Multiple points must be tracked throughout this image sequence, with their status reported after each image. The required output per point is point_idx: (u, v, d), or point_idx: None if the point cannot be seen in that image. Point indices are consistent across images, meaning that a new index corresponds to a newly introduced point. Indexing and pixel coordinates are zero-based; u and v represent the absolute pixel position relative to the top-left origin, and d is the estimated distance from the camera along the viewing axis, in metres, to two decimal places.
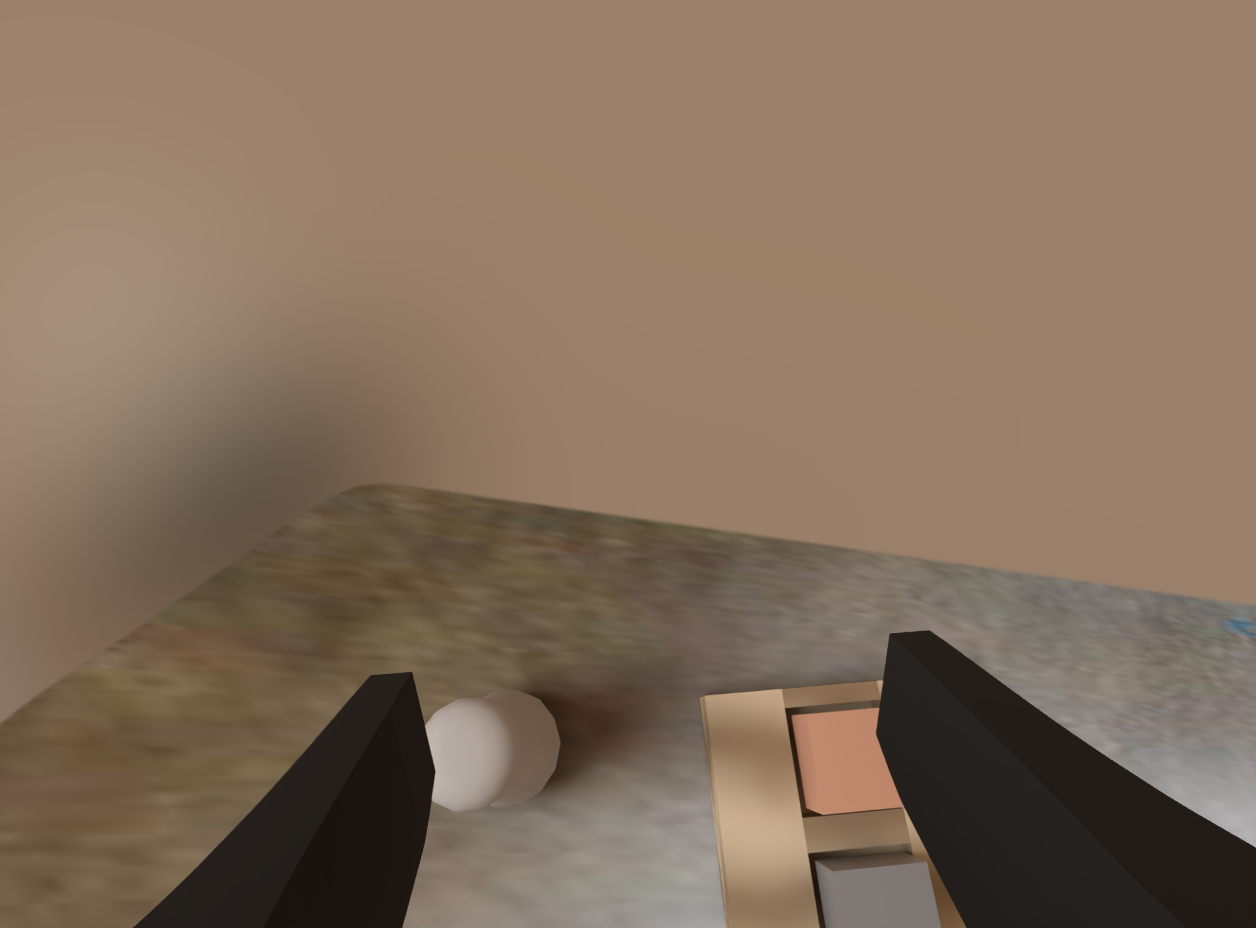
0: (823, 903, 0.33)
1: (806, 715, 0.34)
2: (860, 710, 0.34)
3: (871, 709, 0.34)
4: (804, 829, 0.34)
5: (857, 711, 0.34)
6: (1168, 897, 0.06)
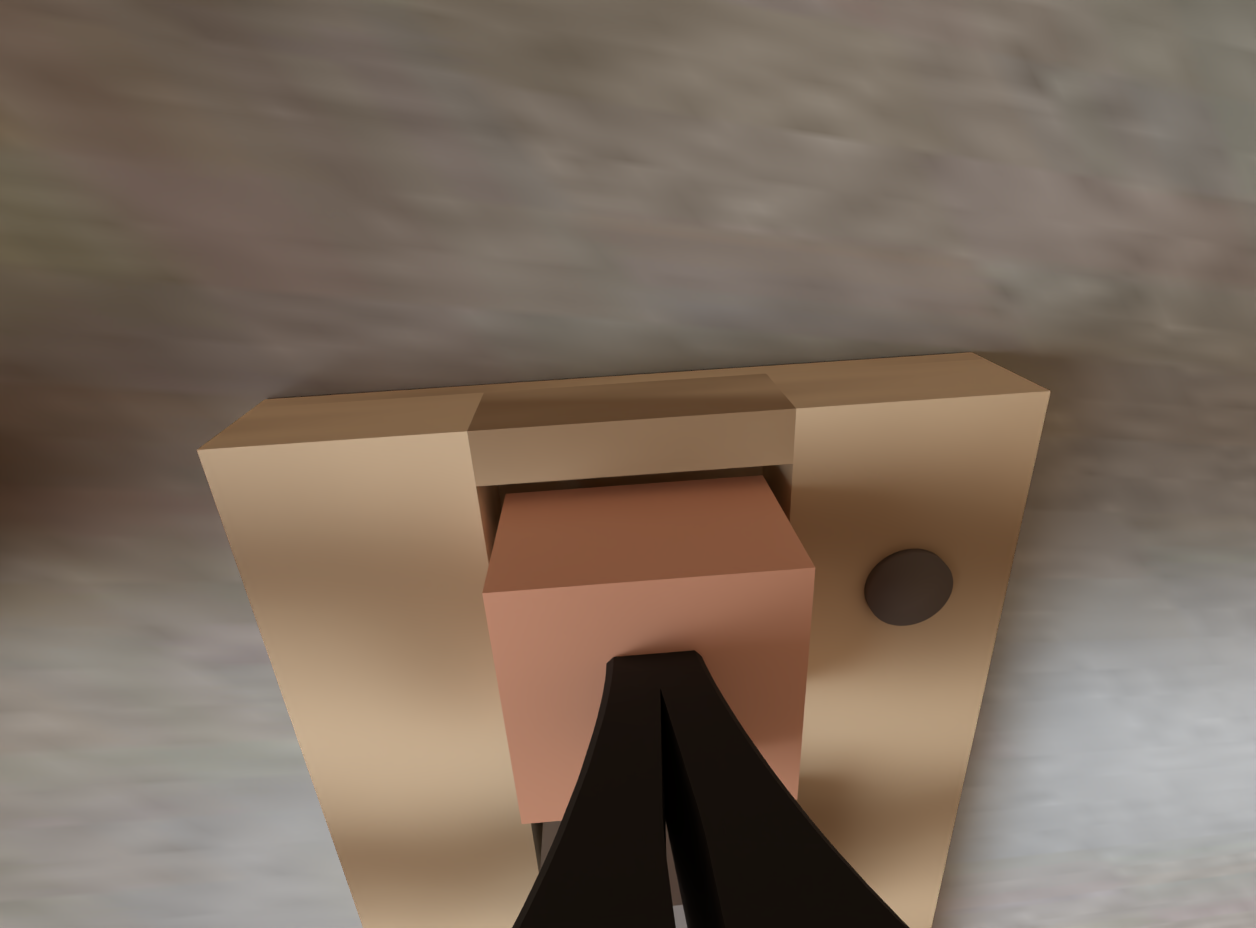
0: None
1: (485, 595, 0.09)
2: (689, 581, 0.09)
3: (731, 576, 0.09)
4: None
5: (677, 584, 0.09)
6: None
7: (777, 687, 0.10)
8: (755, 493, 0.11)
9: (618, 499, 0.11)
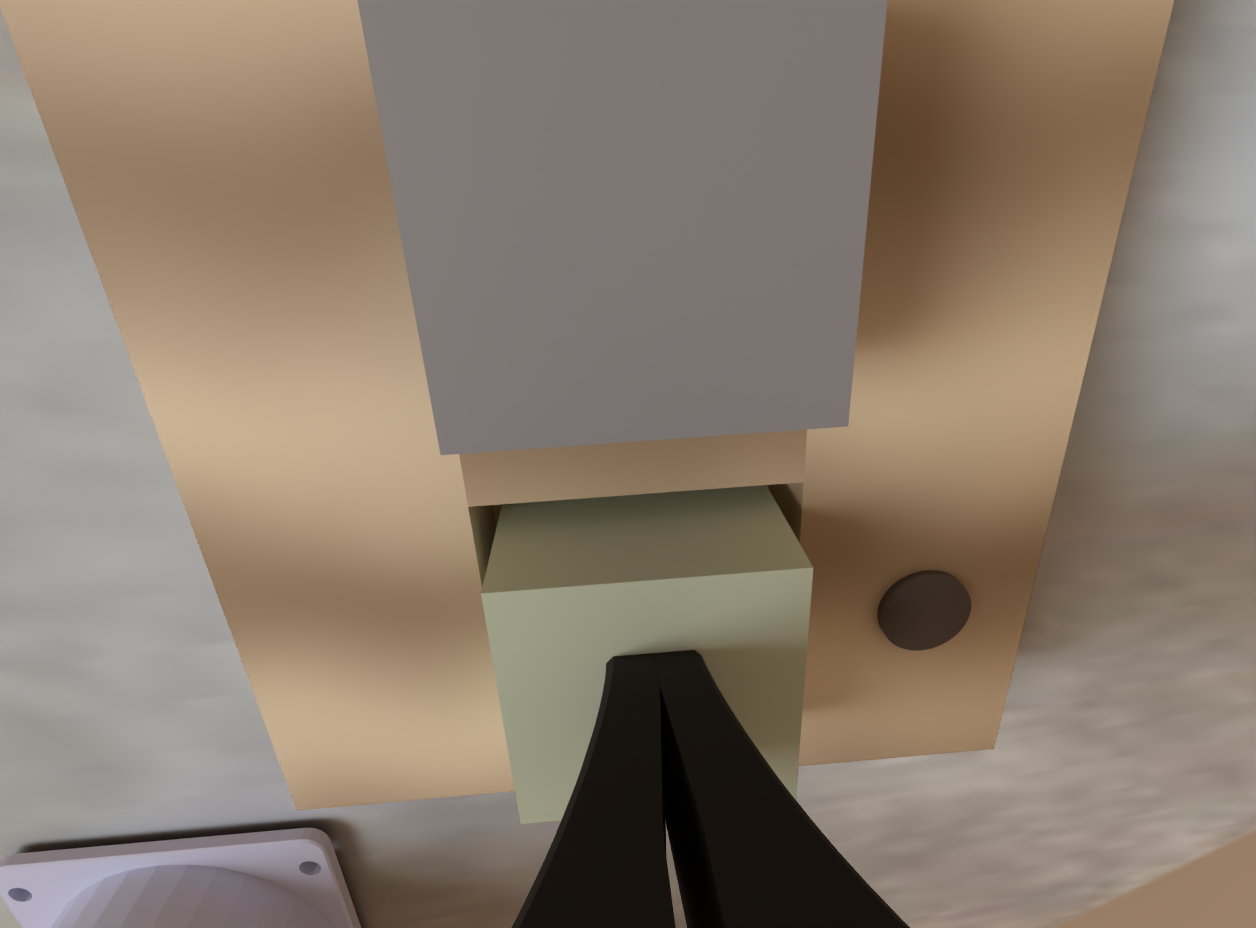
0: None
1: None
2: None
3: None
4: None
5: None
6: None
7: None
8: None
9: None
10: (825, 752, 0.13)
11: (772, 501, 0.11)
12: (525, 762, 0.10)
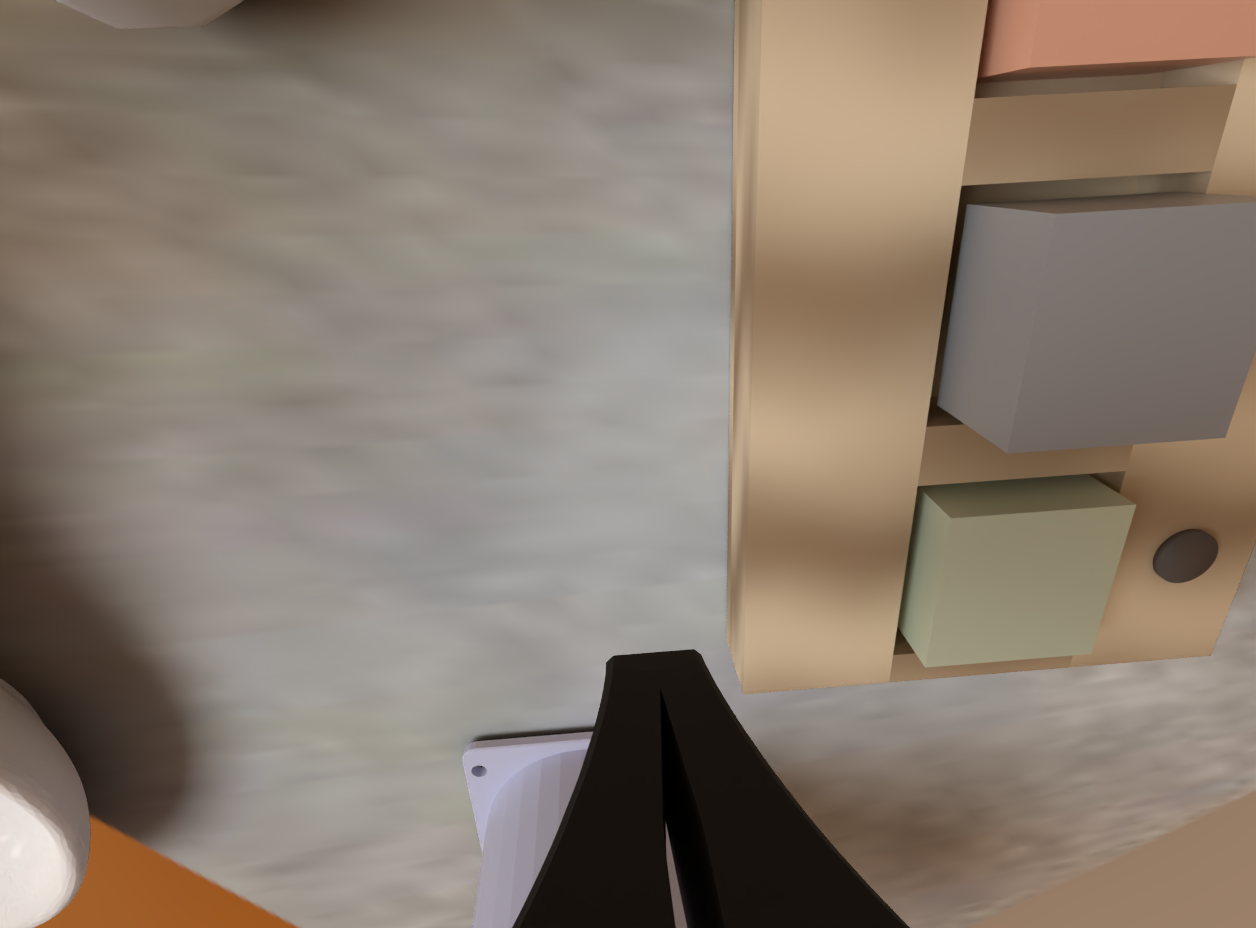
0: (961, 293, 0.15)
1: None
2: None
3: None
4: (970, 127, 0.13)
5: None
6: None
7: None
8: None
9: None
10: (1098, 656, 0.20)
11: None
12: (941, 625, 0.17)
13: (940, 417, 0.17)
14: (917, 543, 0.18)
